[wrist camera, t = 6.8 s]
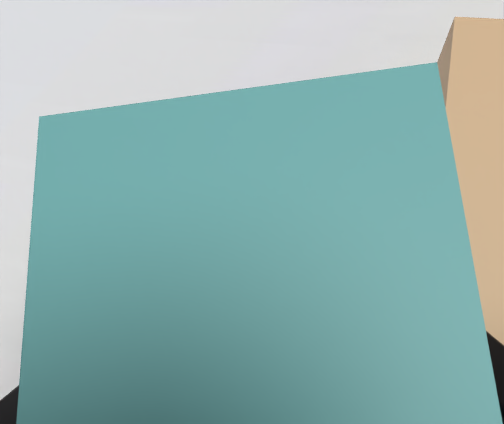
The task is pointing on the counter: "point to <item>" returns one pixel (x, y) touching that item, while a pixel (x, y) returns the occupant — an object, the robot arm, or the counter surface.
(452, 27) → the box
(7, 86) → the counter surface
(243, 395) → the lid
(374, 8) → the counter surface
